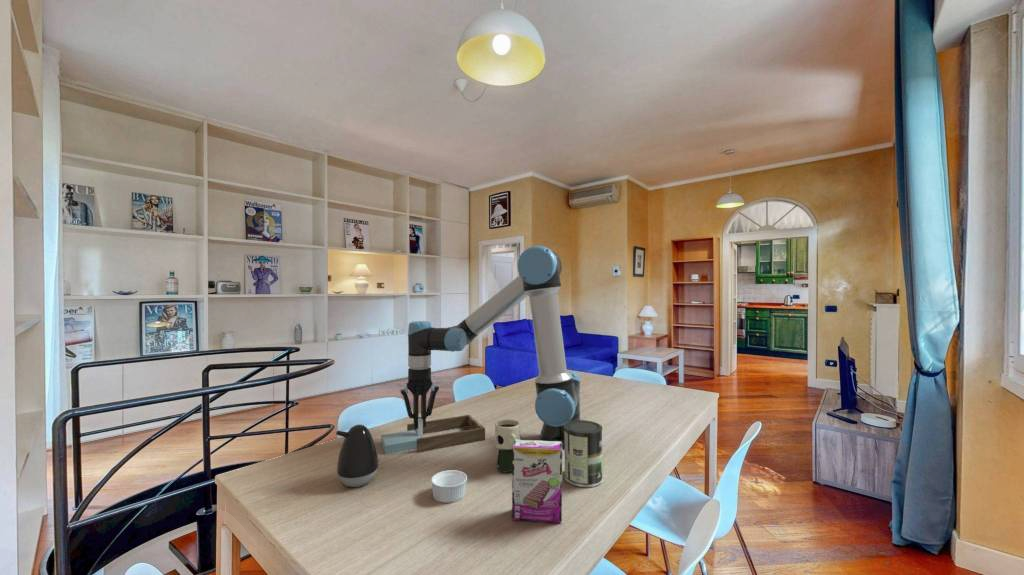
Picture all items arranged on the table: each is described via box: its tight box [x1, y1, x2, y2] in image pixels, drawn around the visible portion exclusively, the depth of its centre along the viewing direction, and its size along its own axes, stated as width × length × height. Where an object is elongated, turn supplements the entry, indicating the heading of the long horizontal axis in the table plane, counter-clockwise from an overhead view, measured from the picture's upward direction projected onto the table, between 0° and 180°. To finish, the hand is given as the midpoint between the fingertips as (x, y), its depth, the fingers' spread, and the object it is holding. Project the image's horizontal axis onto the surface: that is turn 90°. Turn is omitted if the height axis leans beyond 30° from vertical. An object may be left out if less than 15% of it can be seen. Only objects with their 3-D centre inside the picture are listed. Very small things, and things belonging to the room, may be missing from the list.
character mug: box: [494, 419, 521, 473], centre depth 111 cm, size 11×7×13 cm, turn 22°
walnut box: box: [406, 414, 486, 453], centre depth 135 cm, size 16×23×4 cm
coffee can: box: [564, 419, 604, 488], centre depth 105 cm, size 10×10×14 cm
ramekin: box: [430, 469, 468, 504], centre depth 97 cm, size 9×9×4 cm
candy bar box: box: [511, 439, 563, 524], centre depth 88 cm, size 11×5×16 cm, turn 84°
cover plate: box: [380, 430, 419, 455], centre depth 128 cm, size 10×11×3 cm
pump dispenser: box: [335, 424, 379, 488], centre depth 104 cm, size 10×10×15 cm
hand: (419, 437), depth 131 cm, fingers closed
